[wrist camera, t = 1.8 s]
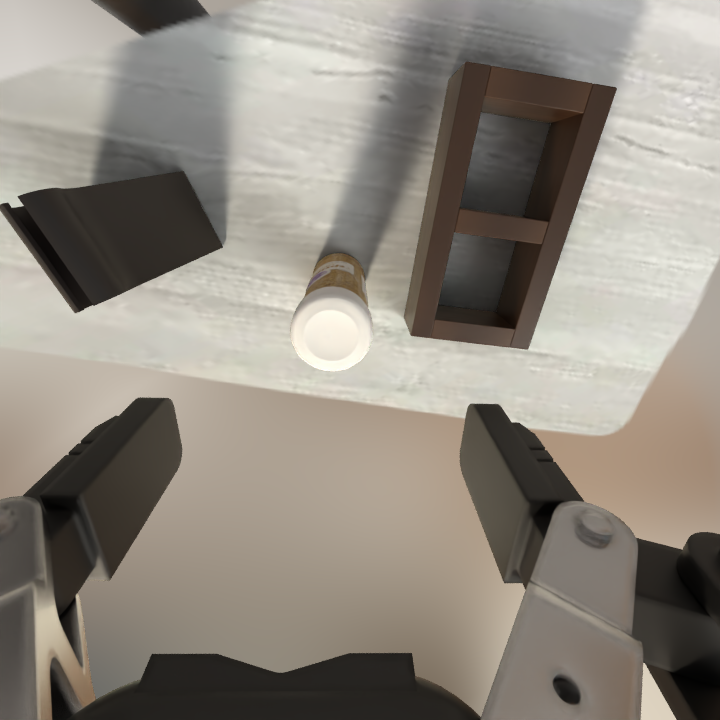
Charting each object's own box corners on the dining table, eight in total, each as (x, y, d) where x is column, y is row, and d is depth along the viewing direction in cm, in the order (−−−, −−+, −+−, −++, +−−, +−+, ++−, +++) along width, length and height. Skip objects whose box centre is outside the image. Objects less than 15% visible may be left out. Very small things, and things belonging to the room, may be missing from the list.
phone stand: (130, 285, 33) (19, 336, 22) (85, 215, 30) (-64, 232, 19) (224, 247, 32) (157, 280, 21) (185, 171, 29) (87, 163, 18)
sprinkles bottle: (331, 241, 32) (318, 277, 19) (376, 273, 33) (390, 326, 20) (302, 286, 33) (273, 346, 21) (345, 315, 34) (342, 388, 22)
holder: (403, 318, 34) (410, 336, 30) (448, 79, 27) (465, 60, 23) (507, 330, 35) (528, 349, 31) (578, 101, 28) (617, 87, 24)
